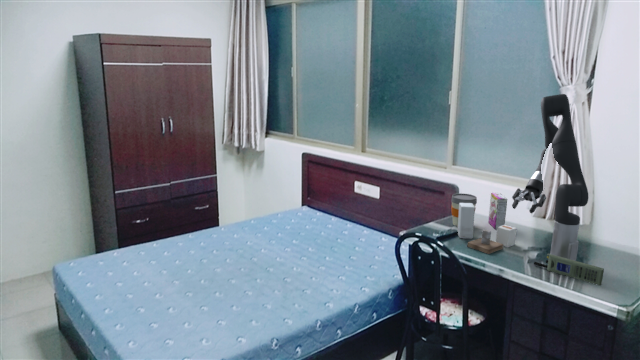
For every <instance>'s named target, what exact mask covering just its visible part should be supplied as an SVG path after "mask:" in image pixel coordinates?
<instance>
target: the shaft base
mask: <svg viewBox="0 0 640 360" xmlns="http://www.w3.org/2000/svg"><path fill="white" fill-rule="evenodd" d="M481 232H482V233H481V237H479V238H477V239H476V238H475V239H474V240H470V241H468V242H467V247H468V248H470V249H474V250H475V251H480V252H482V253H485V254H488V255H489V254H493V253H495V252H498V251H500V250H503V249H504V246H503V244H501V243H498V242H496V240H492V239H491V234H492V231H491V230H487V229H485V228H484V229H482V230H481Z"/></svg>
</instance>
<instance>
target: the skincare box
mask: <svg viewBox="0 0 640 360" xmlns="http://www.w3.org/2000/svg"><path fill="white" fill-rule="evenodd" d="M475 208H476V206H475V207H474V205H473V204H472V203H459V216H458V226H457V232H458V233H457V235H458V237H459V239H473V238H474V226H475V225H474V224H475V214H476V209H475ZM474 213H475V214H474Z"/></svg>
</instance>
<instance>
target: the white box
mask: <svg viewBox="0 0 640 360" xmlns="http://www.w3.org/2000/svg"><path fill="white" fill-rule="evenodd" d="M517 230H518V228H517V227H515V226H510V225H507V224H505V225H502V226H499V227H497V230H496V237H495V242H498V243H501V244H503V247H505V248H510V247H512V246H515V245H516V238H517Z"/></svg>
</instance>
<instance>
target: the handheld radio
mask: <svg viewBox="0 0 640 360" xmlns="http://www.w3.org/2000/svg"><path fill="white" fill-rule="evenodd" d="M546 255H547V256H546V258H547V259H546V260H545V263H546V264H544V263H541V262H537V261H533V265H535V266H537V267H542V268H545V269H546V270H547V271H548V272H552V273H555V274H559V275H562V276H565V275H566V277H569V278H572V277H573V279H575V278H576V280H579V281H582V280H583V282H587V283H589V282H590V284H593V283H594V285H596V284H597V286H601V285H602V283H603V277H604V273H605V268H604V267H600V266H596V265H592V264H588V263H584V262H581V261H577V260H576V261H574V260H570V259H567V258H563V257H559V256H556V255H552V254H550V253H547V254H546Z"/></svg>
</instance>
